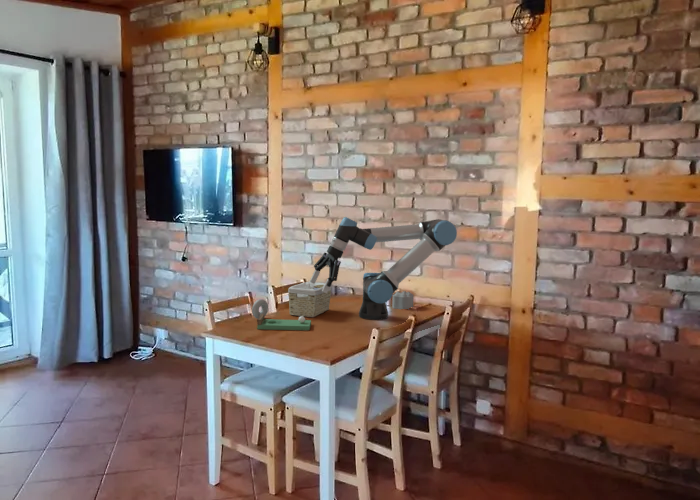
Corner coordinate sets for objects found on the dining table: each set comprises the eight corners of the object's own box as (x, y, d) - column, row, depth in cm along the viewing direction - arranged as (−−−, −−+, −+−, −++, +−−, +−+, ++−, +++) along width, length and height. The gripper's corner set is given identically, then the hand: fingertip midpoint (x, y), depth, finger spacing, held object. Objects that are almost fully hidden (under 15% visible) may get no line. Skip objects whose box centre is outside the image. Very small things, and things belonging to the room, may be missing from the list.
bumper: (264, 319, 277) (264, 314, 277) (260, 325, 266) (260, 319, 265) (261, 319, 277) (261, 314, 277) (257, 325, 266) (257, 319, 265)
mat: (311, 324, 278) (311, 320, 278) (309, 330, 266) (309, 326, 266) (261, 323, 278) (261, 319, 277) (257, 329, 266) (257, 325, 266)
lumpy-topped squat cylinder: (389, 307, 321) (390, 292, 320) (400, 304, 332) (401, 289, 331) (406, 310, 315) (407, 294, 314) (416, 306, 326) (417, 291, 325)
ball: (305, 322, 273) (305, 315, 273) (304, 323, 270) (304, 317, 270) (298, 322, 273) (298, 315, 273) (298, 323, 270) (298, 317, 270)
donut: (255, 321, 282) (255, 301, 281) (250, 320, 284) (250, 300, 283) (269, 317, 290) (269, 298, 289) (264, 316, 292) (264, 297, 291)
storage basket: (305, 307, 318) (305, 280, 316) (332, 309, 312) (333, 283, 311) (286, 315, 295) (286, 287, 294) (315, 319, 290) (316, 290, 288)
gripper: (319, 238, 286) (301, 276, 287) (343, 252, 266) (323, 293, 267) (331, 243, 290) (313, 281, 291) (355, 258, 270) (335, 298, 271)
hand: (318, 287), depth 279 cm, fingers open, 13 cm apart
